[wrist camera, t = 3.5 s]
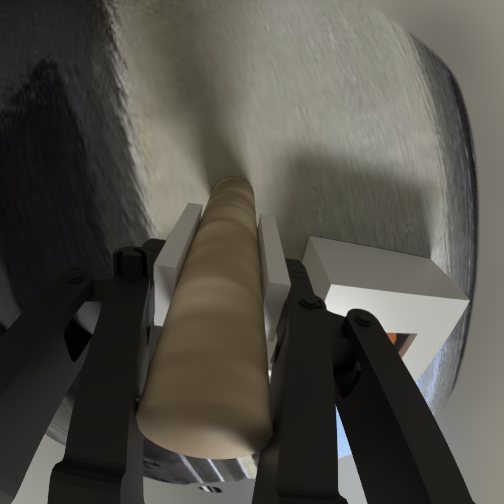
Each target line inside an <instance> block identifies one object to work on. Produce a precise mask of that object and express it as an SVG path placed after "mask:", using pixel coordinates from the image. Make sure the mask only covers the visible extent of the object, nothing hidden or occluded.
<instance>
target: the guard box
mask: <svg viewBox="0 0 504 504" xmlns="http://www.w3.org/2000/svg"><path fill="white" fill-rule="evenodd" d="M302 264H303V265H304V266H305V267H306V270H307V274H308V276H309V280H310V282H311V285H312V288H313V291H314V294H315V295H317V296H318V297H320V298H321V299H322V300H323V301H324V302H325V304H326V307H327V310H328V311H330V312H333V313H335V314H339V315H342V316H345V317H346V315H347V313H348V311H349V310H351V309H355V308H358V309H364V310H367V311H369V312H370V313H371V314H373V315H374V316H375V317H376V318H377V319H378V320H379V322H380V324H381V325H382V327H383V329H384V330H385V332H386V333H396V336H397V338H396V342H395V344H394V347H395V348H396V350H397V352H398V353H399V355H400V357H401V358H402V360H403V362H404V364H405V365H406V367H407V369H408V371H409V372H410V374H411V376H412V378H413V379H414V381H415V382H416V381H417V380H418V378H419V377H420V376H421V375H422V373H423V372H424V371H425V369H426V368H427V367H428V365H429V364H430V362H431V361H432V360H433V358H434V357H435V355H436V354H437V353H438V351H439V350H440V348H441V347H442V345H443V344H444V342H445V341H446V339H447V338H448V336H449V335H450V333H451V331H452V330H453V328H454V327H455V325H456V323H457V322H458V320H459V318H460V317H461V315H462V313H463V312H464V310H465V308H466V306H467V305H468V303H469V301H470V300H469V299H468V298H467V297H466V296H465V295H464V294H463V292H462V291H461V290H460V289H459V288H458V287H457V286H456V285H455V284H454V283H453V281H452V280H451V279H450V278H449V277H448V276H447V275H446V274H445V273H444V272H443V271H442V270H441V269H440V268H439V267H438V266H437V265H436V264H435V263H434V262H433V261H432V260H431V259H428V258H423V257H418V256H413V255H409V254H404V253H399V252H394V251H388V250H383V249H378V248H373V247H368V246H363V245H357V244H352V243H347V242H341V241H336V240H330V239H325V238H319V237H314V236H309V239H308V243H307V246H306V250H305V253H304V256H303V260H302ZM358 365H359V364H358ZM359 367H360V365H359ZM360 369H361V368H360Z"/></svg>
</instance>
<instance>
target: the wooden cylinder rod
mask: <svg viewBox="0 0 504 504" xmlns="http://www.w3.org/2000/svg"><path fill="white" fill-rule="evenodd" d="M136 419H137V423H138V427H139V430H140V431H141V433H142V434H143V435H144V436H146V437H147V438H148V439H149V440H151V441H152V442H154V443H155V444H157V445H159V446H161V447H163V448H165V449H168V450H170V451H173V452H176V453H179V454H183V455H187V456H191V457H197V458H205V459H231V458H238V457H244V456H247V455H251V454H254V453H256V452H258V451H260V450H262V449H264V448H265V447H266V446H267V444H268V443H269V441H270V439H271V437H272V436H273V423H272V409H271V396H270V382H269V369H268V356H267V344H266V331H265V318H264V306H263V294H262V282H261V270H260V258H259V246H258V234H257V222H256V211H255V199H254V192H253V190H252V188H251V186H250V185H249V184H248V183H247V182H246V181H245V180H243V179H241V178H237V177H228V178H225V179H223V180H221V181H219V182H218V183H217V184H216V185H215V187H214V189H213V191H212V193H211V196H210V198H209V201H208V203H207V206H206V208H205V211H204V213H203V216H202V218H201V221H200V223H199V226H198V228H197V231H196V234H195V236H194V239H193V241H192V244H191V247H190V249H189V252H188V255H187V257H186V260H185V263H184V266H183V268H182V271H181V274H180V277H179V280H178V282H177V285H176V288H175V291H174V294H173V297H172V299H171V302H170V305H169V308H168V311H167V314H166V317H165V320H164V323H163V326H162V329H161V332H160V336H159V339H158V342H157V345H156V348H155V351H154V355H153V358H152V361H151V364H150V368H149V371H148V374H147V378H146V381H145V385H144V388H143V392H142V395H141V399H140V402H139V406H138V410H137V413H136Z"/></svg>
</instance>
